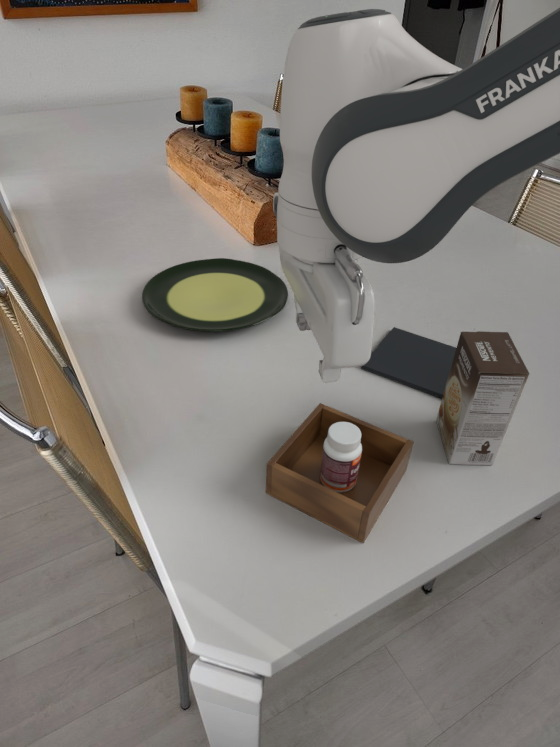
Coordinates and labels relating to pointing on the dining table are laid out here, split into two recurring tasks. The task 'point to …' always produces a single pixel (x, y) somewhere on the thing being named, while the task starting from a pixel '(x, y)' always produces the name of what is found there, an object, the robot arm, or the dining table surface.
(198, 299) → the plate
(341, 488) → the pill bottle
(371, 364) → the mat
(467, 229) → the dining table surface
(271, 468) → the wooden box
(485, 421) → the coffee box
